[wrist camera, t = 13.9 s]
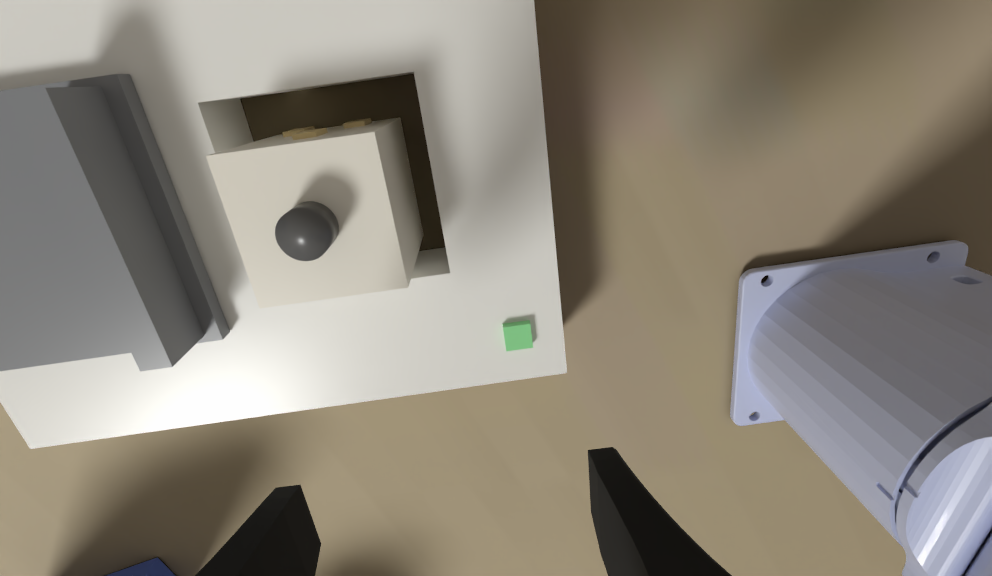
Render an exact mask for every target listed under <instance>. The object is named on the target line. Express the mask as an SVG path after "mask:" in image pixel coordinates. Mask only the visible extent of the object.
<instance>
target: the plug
mask: <svg viewBox="0 0 992 576" xmlns="http://www.w3.org/2000/svg"><path fill="white" fill-rule="evenodd" d="M206 158H207V161H208V164H209V167H210V169H211V172H212V175H213V178H214V181H215V184H216V186H217V189H218V192H219V195H220V198H221V201H222V204H223V206H224V209H225V212H226V215H227V218H228V221H229V223H230V226H231V229H232V232H233V235H234V238H235V240H236V243H237V246H238V249H239V252H240V255H241V257H242V260H243V263H244V266H245V269H246V272H247V274H248V277H249V280H250V283H251V286H252V289H253V291H254V294H255V297H256V300H257V303H258V306H259V308H267V307H274V306H281V305H288V304H295V303H303V302H310V301H317V300H324V299H331V298H338V297H345V296H352V295H359V294H366V293H373V292H380V291H387V290H395V289H402V288H408V287H409V284H410V280H411V277H412V273H413V270H414V266H415V263H416V259H417V256H418V252H419V249H420V245H421V242H422V238H423V230H422V225H421V220H420V215H419V210H418V204H417V199H416V194H415V189H414V184H413V179H412V174H411V169H410V164H409V159H408V154H407V148H406V143H405V138H404V133H403V128H402V123H401V118H400V117H398V118H391V119H384V120H377V121H371V118H368V119H361V120H354V121H349V122H347V123H344V124H343V125H342V126H335V127H328V128H320V129H315V128H314V126H312V127H305V128H298V129H292V130H289V131H285V132H282V134H279V135H275V136H272V137H268V138H265V139H262V140H258V141H255V142H251V143H248V144H245V145H241V146H238V147H234V148H231V149H227V150H224V151H221V152H217V153H214V154H210V155H207V156H206Z"/></svg>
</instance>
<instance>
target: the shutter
mask: <svg viewBox="0 0 992 576" xmlns="http://www.w3.org/2000/svg"><path fill="white" fill-rule="evenodd" d="M229 333H230V329H229V327H228V324H227V322H226V319H225V316H224V314H223V311H222V309H221V306H220V304H219V301H218V298H217V296H216V293H215V291H214V288H213V286H212V283H211V281H210V278H209V275H208V273H207V270H206V268H205V265H204V263H203V260H202V257H201V255H200V252H199V250H198V247H197V245H196V242H195V239H194V237H193V234H192V232H191V229H190V227H189V224H188V222H187V219H186V216H185V214H184V211H183V209H182V206H181V204H180V201H179V198H178V196H177V193H176V191H175V188H174V186H173V183H172V181H171V178H170V175H169V173H168V170H167V168H166V165H165V163H164V160H163V157H162V155H161V152H160V150H159V147H158V145H157V142H156V139H155V137H154V134H153V132H152V129H151V127H150V124H149V122H148V119H147V116H146V114H145V111H144V109H143V106H142V104H141V101H140V98H139V96H138V93H137V91H136V88H135V86H134V83H133V81H132V78H131V75H130V74H112V75H105V76H98V77H91V78H85V79H78V80H71V81H64V82H57V83H50V84H43V85H36V86H29V87H22V88H15V89H8V90H1V91H0V371H6V370H13V369H20V368H27V367H34V366H42V365H49V364H56V363H63V362H70V361H77V360H84V359H91V358H98V357H105V356H112V355H119V354H126V353H132V355H133V358H134V360H135V362H136V364H137V366H138V368H139V370H140V371H147V370H154V369H161V368H168V367H173V366H174V365H175V364H176V363H177V362H178V361H179V360H180V359H181V358H182V357H183V356H184V355H185V354H186V353H187V352H188V351H189V350H190V349H191V348H192V347H193V346H194V345H195V344H196V343H203V342H210V341H217V340H223V339H224V338H225V337H226V336H227V335H228V334H229Z"/></svg>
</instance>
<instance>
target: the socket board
mask: <svg viewBox="0 0 992 576" xmlns="http://www.w3.org/2000/svg"><path fill="white" fill-rule="evenodd" d="M112 74H130V75H131V78H132V81H133V83H134V86H135V88H136V91H137V93H138V96H139V98H140V101H141V104H142V106H143V109H144V111H145V114H146V116H147V119H148V122H149V124H150V127H151V129H152V132H153V134H154V137H155V139H156V142H157V145H158V147H159V150H160V152H161V155H162V157H163V160H164V163H165V165H166V168H167V170H168V173H169V175H170V178H171V181H172V183H173V186H174V188H175V191H176V193H177V196H178V198H179V201H180V204H181V206H182V209H183V211H184V214H185V216H186V219H187V222H188V224H189V227H190V229H191V232H192V234H193V237H194V239H195V242H196V245H197V247H198V250H199V252H200V255H201V257H202V260H203V263H204V265H205V268H206V270H207V273H208V275H209V278H210V281H211V283H212V286H213V288H214V291H215V293H216V296H217V298H218V301H219V304H220V306H221V309H222V311H223V314H224V316H225V319H226V322H227V324H228V327H229V329H230V333H229V334H228V335H227V336H226V337H225V338H224V339H223V340H217V341H210V342H203V343H196V344H195V345H194V346H193V347H192V348H191V349H190V350H189V351H188V352H187V353H186V354H185V355H184V356H183V357H182V358H181V359H180V360H179V361H178V362H177V363H176V364H175V365H174V366H173V367H168V368H161V369H154V370H147V371H140V370H139V368H138V366H137V364H136V362H135V360H134V358H133V355H132V353H126V354H119V355H112V356H105V357H98V358H91V359H84V360H77V361H70V362H63V363H56V364H49V365H42V366H34V367H27V368H20V369H13V370H6V371H0V402H1V404H2V405H3V407H4V409H5V410H6V412H7V413H8V415H9V416H10V418H11V419H12V421H13V423H14V424H15V426H16V427H17V429H18V430H19V432H20V434H21V435H22V437H23V438H24V440H25V441H26V443H27V445H28V446H29V448H30V449H33V448H40V447H47V446H54V445H61V444H68V443H75V442H82V441H89V440H96V439H104V438H111V437H118V436H125V435H132V434H139V433H146V432H153V431H160V430H167V429H174V428H181V427H188V426H195V425H202V424H210V423H217V422H224V421H231V420H238V419H245V418H252V417H259V416H266V415H273V414H280V413H287V412H294V411H301V410H308V409H316V408H323V407H330V406H337V405H344V404H351V403H358V402H365V401H372V400H379V399H386V398H393V397H400V396H407V395H414V394H422V393H429V392H436V391H443V390H450V389H457V388H464V387H471V386H478V385H485V384H492V383H499V382H506V381H513V380H520V379H528V378H535V377H542V376H549V375H556V374H563V373H567V368H566V356H565V345H564V334H563V322H562V311H561V300H560V289H559V277H558V266H557V255H556V244H555V232H554V221H553V210H552V198H551V187H550V176H549V165H548V153H547V142H546V131H545V119H544V108H543V97H542V86H541V74H540V63H539V52H538V40H537V29H536V18H535V7H534V0H0V91H1V90H8V89H15V88H22V87H29V86H36V85H43V84H50V83H57V82H64V81H71V80H78V79H85V78H91V77H98V76H105V75H112ZM408 74H414V76H415V82H416V87H417V93H418V98H419V104H420V109H421V115H422V120H423V126H424V131H425V137H426V142H427V148H428V153H429V159H430V164H431V170H432V175H433V181H434V186H435V192H436V197H437V203H438V208H439V214H440V219H441V225H442V230H443V236H444V241H445V247H444V248H437V249H430V250H423V251H419V252H418V256H417V259H416V263H415V266H414V270H413V273H412V277H411V280H410V284H409V287H408V288H402V289H395V290H387V291H380V292H373V293H366V294H359V295H352V296H345V297H338V298H331V299H324V300H317V301H310V302H303V303H295V304H288V305H281V306H274V307H267V308H259V306H258V303H257V300H256V297H255V294H254V291H253V289H252V286H251V283H250V280H249V277H248V274H247V272H246V269H245V266H244V263H243V260H242V257H241V255H240V252H239V249H238V246H237V243H236V240H235V238H234V235H233V232H232V229H231V226H230V223H229V221H228V218H227V215H226V212H225V209H224V206H223V204H222V201H221V198H220V195H219V192H218V189H217V186H216V184H215V181H214V178H213V175H212V172H211V169H210V167H209V164H208V161H207V158H206V156H207V155H210V154H214V153H217V152H221V151H224V150H227V149H231V148H234V147H238V146H241V145H245V144H248V143H251V142H254V141H253V138H252V135H251V132H250V129H249V125H248V122H247V119H246V116H245V113H244V110H243V106H242V103H241V100H240V99H241V98H248V97H255V96H262V95H269V94H276V93H283V92H290V91H297V90H304V89H311V88H318V87H325V86H332V85H339V84H346V83H352V82H359V81H366V80H373V79H380V78H387V77H394V76H401V75H408Z"/></svg>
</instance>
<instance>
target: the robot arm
mask: <svg viewBox="0 0 992 576" xmlns="http://www.w3.org/2000/svg"><path fill="white" fill-rule="evenodd" d="M931 253H932V254H931ZM929 254H931V256H930V257H929V258H928V255H929ZM967 255H968V246H967V244H965V243H963V242H960V241H957V240H950V241H943V242H936V243H929V244H922V245H915V246H908V247H901V248H894V249H887V250H880V251H873V252H866V253H859V254H851V255H844V256H837V257H830V258H823V259H816V260H809V261H802V262H795V263H788V264H781V265H774V266H767V267H760V268H753V269H749V270H747V271H745V272H744V273H743V274H742V275H741V277H740V280H739V291H738V306H737V321H736V336H735V351H734V365H733V380H732V395H731V410H730V417H731V419H732V420H733V421H734V423H735V424H736V425H739V426H744V425H751V424H758V423H765V422H773V421H780V420H785V421H786V422H787V423H788V424H789V425H790V426H791V427H792V428H793V429H794V430H795V431H796V433H797V434H798V435H799V436H800V437H801V438H802V439H803V440H804V441H805V442H806V443H807V444H808V445H809V447H810V448H811V449H812V450H813V451H814V452H815V453H816V454H817V455H818V456H819V457H820V458H821V460H822V461H823V462H824V463H825V464H826V465H827V466H828V467H829V468H830V469H831V470H832V471H833V473H834V474H835V475H836V476H837V477H838V478H839V479H840V480H841V481H842V482H843V483H844V484H845V486H846V487H847V488H848V489H849V490H850V491H851V492H852V493H853V494H854V495H855V496H856V497H857V498H858V500H859V501H860V502H861V503H862V504H863V505H864V506H865V507H866V508H867V509H868V510H869V511H870V513H871V514H872V515H873V516H874V517H875V518H876V519H877V520H878V521H879V522H880V523H881V524H882V526H883V527H884V528H885V529H886V530H887V531H888V532H889V533H890V534H891V535H892V536H893V537H894V539H895V540H896V541H897V542H898V543H899V544H900V545H901V546H902V547H903V548H904V550H905V552H906V564H905V566H904V568H903V571H902V575H903V576H992V276H991V275H989V274H986V273H983V272H981V271H978V270H975V269H973V268H970V267H968V266H965V262H966V259H967ZM927 258H928V259H927ZM767 275H768V279H767V280H766V281H765V282H763V283H761V280H762V278H763V277H764V276H767ZM753 412H755V413H754V414H753V415H751V416H750V414H751V413H753ZM588 460H589V480H590V500H591V513H592V518H593V522H594V526H595V531H596V535H597V539H598V544H599V548H600V552H601V555H602V558H603V561H604V565H605V567H606V570H607V573H608V576H731V575H730V574H729V573H728V572H727V571H726V570H725V569H724V568H722V567H721V566H720V565H719V564H718V563H717V562H716V561H715V560H713V559H712V558H711V557H710V556H709V555H708V554H707V553H706V552H705V551H704V550H703V549H702V548H701V547H700V546H699V545H698V544H697V543H696V542H695V541H694V540H693V539H692V538H691V537H690V536H689V535H688V534H687V533H686V532H685V531H684V530H683V529H682V528H681V527H680V526H679V525H678V524H677V523H676V522H675V521H674V520H673V519H672V518H671V517H670V515H669V514H668V513H667V512H666V511H665V510H664V509H663V508H662V507H661V505H660V504H659V503H658V502H657V501H656V500H655V499H654V498H653V496H652V495H651V494H650V493H649V492H648V490H647V489H646V488H645V487H644V486H643V484H642V483H641V482H640V481H639V479H638V478H637V477H636V476H635V474H634V473H633V472H632V471H631V469H630V468H629V467H628V465H627V464H626V463H625V461H624V460H623V459H622V457H621V456H620V454H619V453H618V451H617V450H616V449H614V448H613V447H610V448H601V449H593V450H588ZM320 546H321V542H320V539H319V537H318V534H317V531H316V528H315V525H314V522H313V519H312V517H311V514H310V511H309V508H308V505H307V502H306V500H305V497H304V494H303V491H302V488H301V485H294V486H286V487H278V488H275V489H274V490H273V492H272V493H271V494H270V495H269V496H268V497H267V498H266V499H265V500H264V501H263V502H262V504H261V505H260V506H259V507H258V508H257V509H256V510H255V511H254V512H253V514H252V515H251V516H250V517H249V518H248V519H247V520H246V521H245V523H244V524H243V525H242V526H241V527H240V528H239V529H238V530H237V532H236V533H235V534H234V535H233V536H232V537H231V538H230V539H229V540H228V541H227V542H226V544H225V545H224V546H223V547H222V548H221V549H220V550H219V551H218V552H217V553H216V554H215V556H214V557H213V558H212V559H211V560H210V561H209V562H208V563H207V564H206V565H205V566H204V567H203V568H202V569H201V570H200V571H199V572H198V573H197V574H196V575H195V576H315V572H316V568H317V562H318V557H319V552H320Z"/></svg>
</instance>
